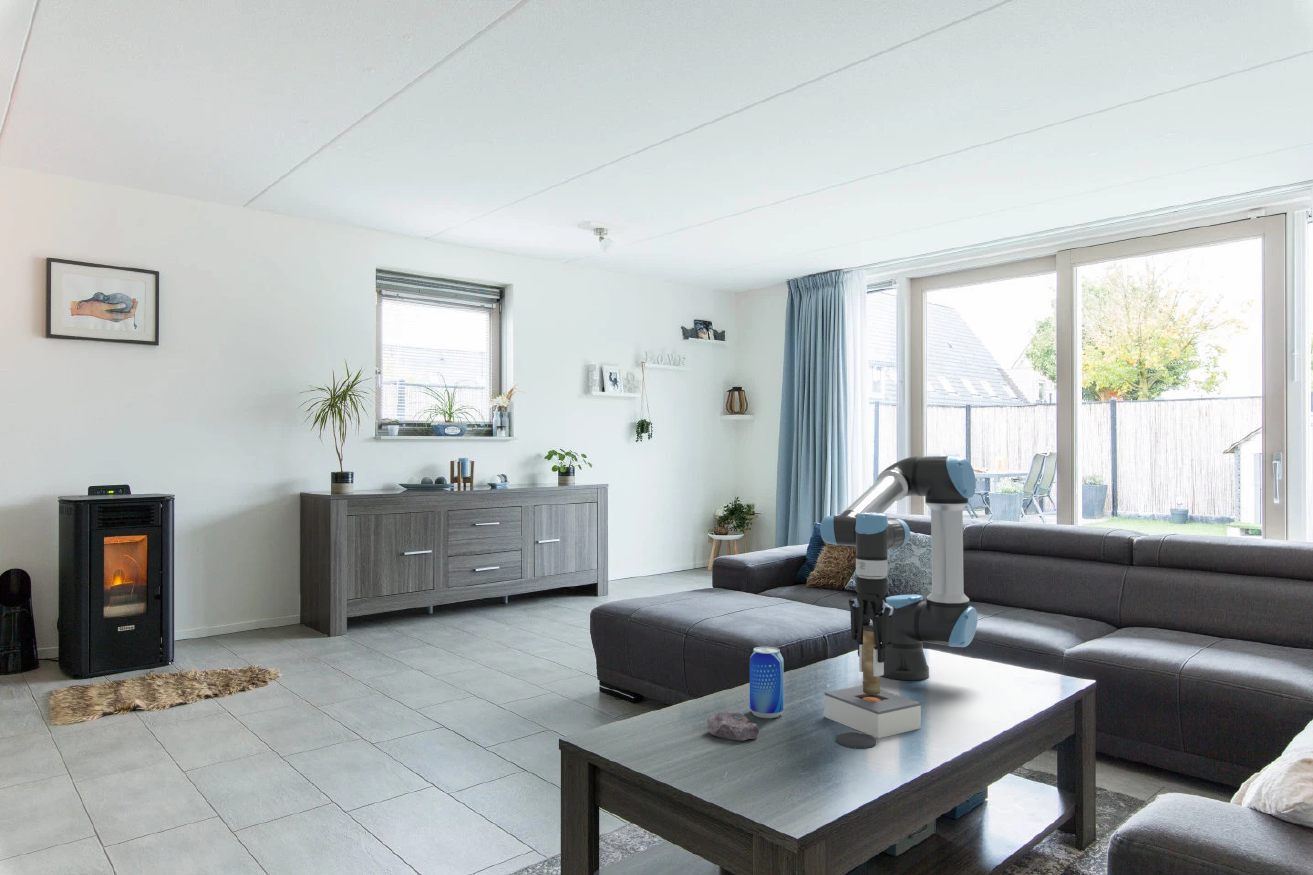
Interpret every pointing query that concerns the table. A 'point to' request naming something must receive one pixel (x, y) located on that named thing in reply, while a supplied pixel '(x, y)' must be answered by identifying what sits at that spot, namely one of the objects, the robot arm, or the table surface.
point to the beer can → (766, 682)
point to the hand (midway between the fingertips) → (871, 672)
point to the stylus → (869, 662)
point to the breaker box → (872, 711)
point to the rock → (732, 726)
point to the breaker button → (871, 699)
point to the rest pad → (856, 740)
